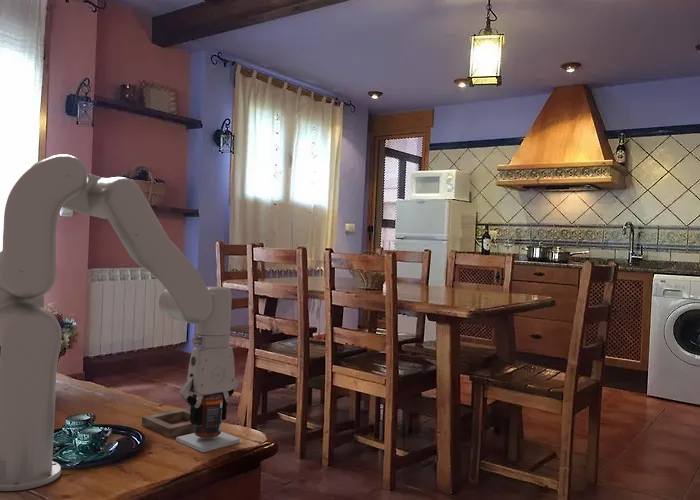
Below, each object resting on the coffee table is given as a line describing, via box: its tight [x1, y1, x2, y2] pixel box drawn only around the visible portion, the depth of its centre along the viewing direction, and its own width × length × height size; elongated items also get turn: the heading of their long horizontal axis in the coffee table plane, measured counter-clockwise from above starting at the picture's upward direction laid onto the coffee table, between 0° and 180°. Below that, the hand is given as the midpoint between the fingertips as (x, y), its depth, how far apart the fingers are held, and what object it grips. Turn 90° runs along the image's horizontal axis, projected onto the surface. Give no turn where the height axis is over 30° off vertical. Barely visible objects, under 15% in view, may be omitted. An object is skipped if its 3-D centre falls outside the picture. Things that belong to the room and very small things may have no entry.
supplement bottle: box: [193, 393, 223, 438], centre depth 131 cm, size 6×6×11 cm
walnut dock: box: [141, 407, 195, 438], centre depth 141 cm, size 12×12×2 cm
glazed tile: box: [175, 430, 241, 453], centre depth 132 cm, size 10×10×1 cm
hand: (208, 420), depth 131 cm, fingers closed on supplement bottle, 6 cm apart
